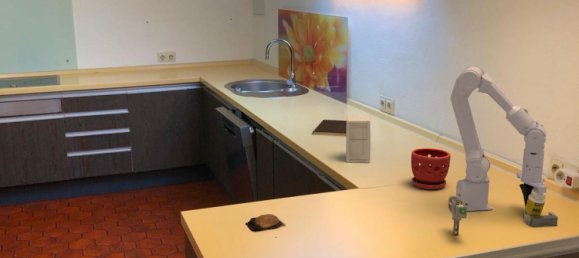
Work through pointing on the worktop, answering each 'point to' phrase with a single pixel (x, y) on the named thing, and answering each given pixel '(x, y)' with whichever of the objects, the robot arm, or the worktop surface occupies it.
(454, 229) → the mechanical component
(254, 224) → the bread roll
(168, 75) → the worktop surface
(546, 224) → the jig
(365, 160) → the beige miniature cabinet
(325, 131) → the hardcover book
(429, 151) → the plant pot
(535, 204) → the supplement bottle
